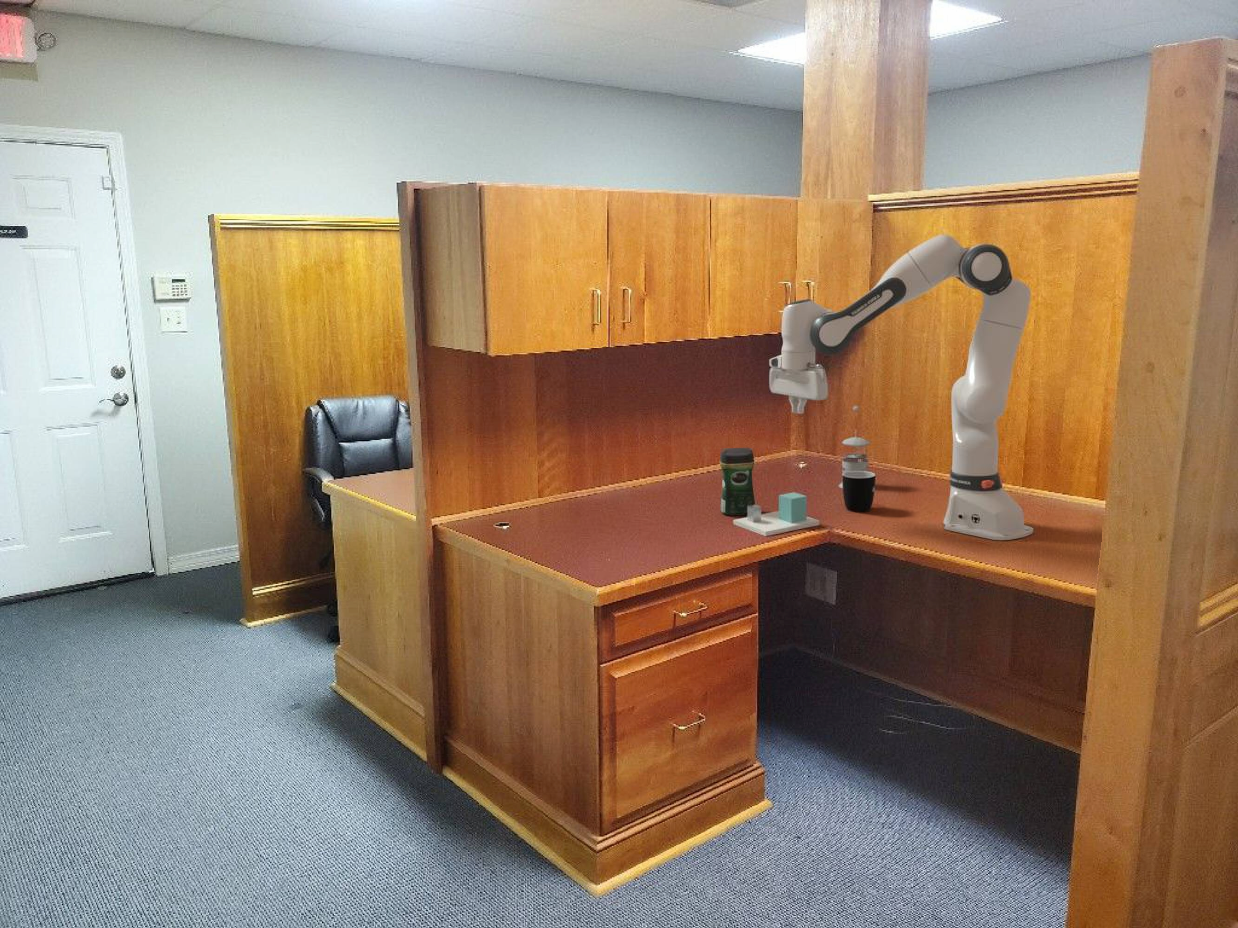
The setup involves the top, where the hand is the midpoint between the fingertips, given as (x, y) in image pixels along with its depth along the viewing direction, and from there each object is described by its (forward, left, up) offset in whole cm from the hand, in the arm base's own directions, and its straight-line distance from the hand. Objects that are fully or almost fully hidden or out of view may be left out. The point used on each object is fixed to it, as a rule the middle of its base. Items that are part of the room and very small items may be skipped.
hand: (797, 413), depth 261 cm
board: (-2, +9, -29) cm, 30 cm away
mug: (-2, -20, -29) cm, 36 cm away
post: (+1, +14, -28) cm, 31 cm away
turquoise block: (-4, +5, -28) cm, 29 cm away
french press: (+18, -38, -29) cm, 51 cm away
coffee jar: (+14, +10, -29) cm, 34 cm away
